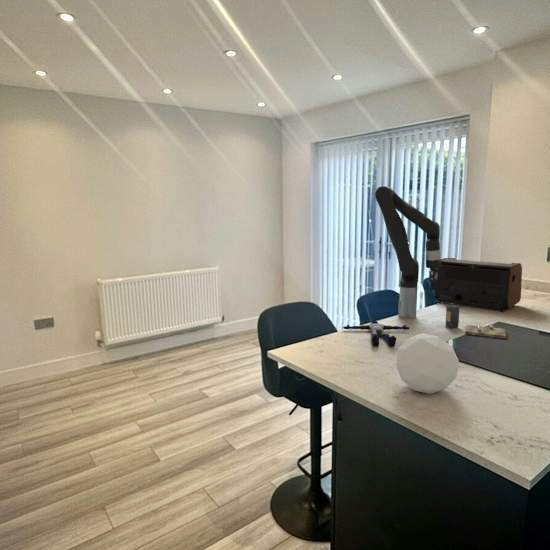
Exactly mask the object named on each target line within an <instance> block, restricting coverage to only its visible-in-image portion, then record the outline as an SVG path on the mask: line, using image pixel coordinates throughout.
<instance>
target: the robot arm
mask: <svg viewBox="0 0 550 550" xmlns="http://www.w3.org/2000/svg"><path fill="white" fill-rule="evenodd" d="M374 198H375V200H376V202H377V204H378V207H379V208H380V211H381V213H382V216H383V220H384V224H385V227H386V231H387V233H388V236H389V240H390V242H391V244H392V247H393V249H394V251H395V255H396V259H397V264H398V267H399V270H400V272H401V277H400V282H399V299H398V313H397V314H398V315H397V317H399V318H404V319H414V318H415V319H416V318H417V304H418V303H417V301H418V282H419V271H420V268H419V267H420V264H419V261H418V260H417V259H416V258H414V257H413V255H412V253H411V251H410V248H409V247H410V246H409V239H408V233H407V229H406V226H405V224H404V221H403V220H402V218H401V216H400V214H401V215H403V217H405V218H406V219H407V220H408V221H409V222H411V223H412V224H414V225H415V226H417V227H418V228H419V229H420V230H421V231H423V232H424V233H425V234H426V241H425V268H427V269H430V270H429V273H428V274H429V283H430V290H431V291H435V287H437V278H438V271H437V269H438V268H440V267H441V259H442V258H441V256H442V255H441V245H440V244H441V242H440V237H441V236H440V235H441V227H440V224H439V223H438V222H437V221H434V220H432V219H430V218H429V217H427V216H426V214H425V213H423V212H422V211H420V210H419V209H417V208H416V207H414V206H413V205H411V204H410V203H408V202H407V201H405V200H404V199H403V198H402V197H400V196H399V195H398V193H396V192H395V191H394V189H393V188H392V187H389V186H387V185H381V186H378V188H377V189H376V190H375V193H374ZM398 212H399V213H400V214H399V213H398Z"/></svg>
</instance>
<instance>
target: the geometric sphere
mask: <svg viewBox="0 0 550 550" xmlns="http://www.w3.org/2000/svg"><path fill="white" fill-rule="evenodd" d="M459 364H460V361H459V358H458V357H457V354H456V352H455V349H454V348H453V346H452V345H451V344H450V343H448V342H447V341H445V340H443V338H440V336H436V335H432V334H428V333H424V332H422V333H419V334H416V335H413V336H411V337H408V338H407V339H406V340H405V341H404V342H403V343H402V344H401V345H400V346H399V347H398V348H397V352H396V362H395V366H396V369H397V371H398V374H399V378H400V380H401V381H403V383H405V384H406V385H407V386H408V387H409V388H411V389H412V390H413V391H416V392H419V393H425V394H428V395H432V394H434V393H438V392H441V391H444V390H446V389H448V388H449V386H450V385H451V384H452V383H453V382H454V381H455V380H456V379H457V377H458V370H459Z"/></svg>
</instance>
